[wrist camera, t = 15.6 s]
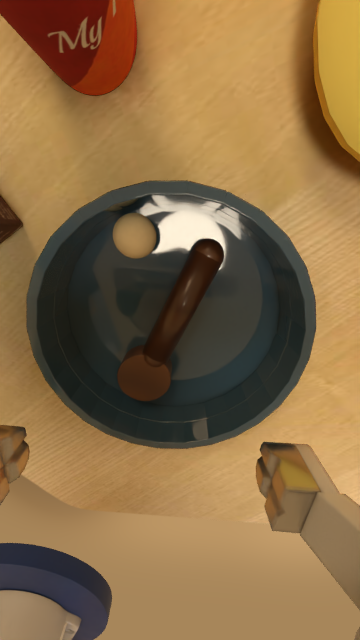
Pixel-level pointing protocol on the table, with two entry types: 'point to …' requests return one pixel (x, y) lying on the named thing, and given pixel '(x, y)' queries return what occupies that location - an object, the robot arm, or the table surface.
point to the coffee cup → (79, 38)
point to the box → (7, 221)
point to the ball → (134, 235)
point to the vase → (339, 69)
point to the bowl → (147, 303)
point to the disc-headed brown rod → (170, 326)
